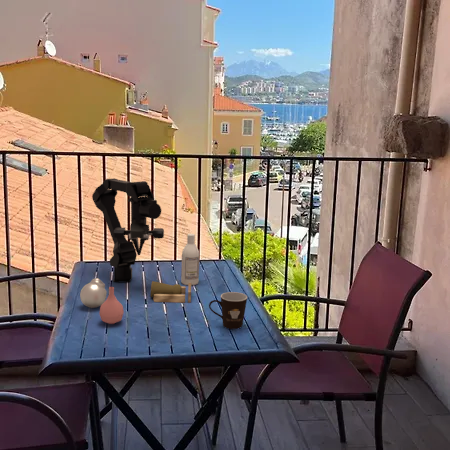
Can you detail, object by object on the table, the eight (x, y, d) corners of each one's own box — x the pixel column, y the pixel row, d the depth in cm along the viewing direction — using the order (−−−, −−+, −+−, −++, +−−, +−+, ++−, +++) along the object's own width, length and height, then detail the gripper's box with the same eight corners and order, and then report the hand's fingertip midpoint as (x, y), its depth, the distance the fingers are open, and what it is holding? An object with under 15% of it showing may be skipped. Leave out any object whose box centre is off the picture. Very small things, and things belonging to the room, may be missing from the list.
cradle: (152, 301, 202) (152, 291, 201) (154, 292, 212) (154, 282, 212) (190, 302, 203) (191, 292, 202) (190, 292, 213) (191, 282, 212)
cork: (153, 280, 210) (182, 282, 210) (151, 296, 210) (181, 298, 210) (151, 281, 204) (181, 284, 204) (150, 298, 204) (180, 300, 204)
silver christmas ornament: (111, 308, 194) (111, 281, 192) (84, 313, 189) (84, 285, 187) (103, 300, 202) (102, 274, 199) (77, 304, 197) (76, 277, 195)
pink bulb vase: (128, 321, 184) (128, 286, 182) (114, 329, 177) (114, 293, 175) (108, 316, 187) (108, 282, 185) (94, 324, 180) (94, 288, 178)
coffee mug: (249, 322, 187) (250, 294, 185) (241, 332, 179) (242, 302, 177) (216, 317, 190) (217, 289, 188) (207, 326, 182) (208, 297, 180)
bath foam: (202, 283, 224) (203, 235, 220) (187, 286, 220) (189, 237, 216) (191, 279, 230) (193, 231, 225) (177, 282, 225) (178, 233, 221)
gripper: (110, 218, 203) (111, 260, 206) (162, 219, 204) (162, 260, 207) (114, 212, 214) (115, 252, 217) (164, 213, 215) (164, 253, 218)
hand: (139, 254), depth 214 cm, fingers closed
